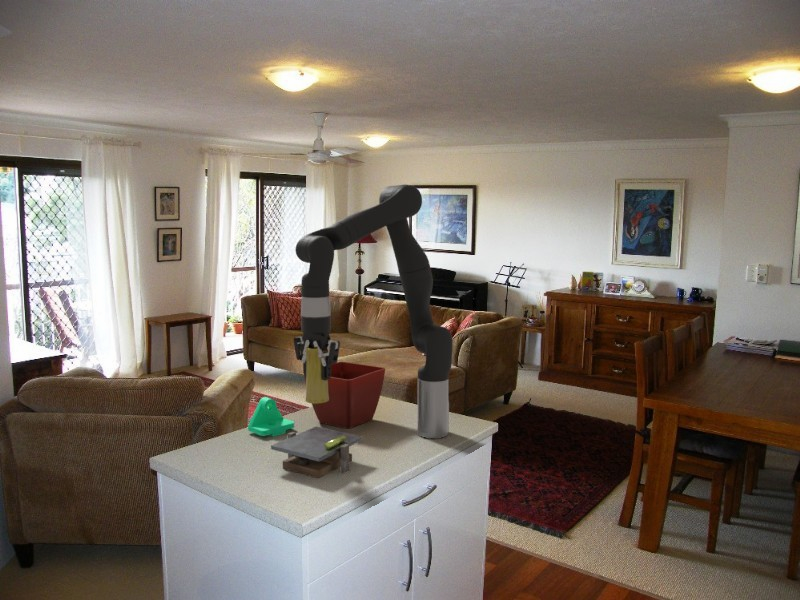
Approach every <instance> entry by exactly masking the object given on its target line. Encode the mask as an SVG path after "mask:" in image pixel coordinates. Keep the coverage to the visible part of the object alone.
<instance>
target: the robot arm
mask: <svg viewBox="0 0 800 600" xmlns="http://www.w3.org/2000/svg"><path fill="white" fill-rule="evenodd" d="M378 200H379V201H378V202H379V203H378V204H376V205H374V206H372V207H369V208H366V209H363V210H360V211H357V212H354V213H352V214H349V215H347V216H345V217H344V218H341V219H339V220H338V221H336V222H334V223H332V224H331V225H329V226H327V227H324V228H320V229H318V230H314V231H312V232H310V233H308V234H306V235H304V236H302V237H301V238H299V240H298V241H297V242H296V245H295V255H296V256H297V258H298V259H299V260H300V261H302V262H304V263H308V264H309V268H308V273H305V274H303V275H302V277H301V301H300V303H301V304H300V323H301V324H300V325H301V326H300V328H301V332H302V336H301V335H299V336H295V337H293V339H292V340H293V344H294V345H293V347H294V352H295V357H296V360H298V361H301V363H302V373H303V376H305V377H306V347H307V348H312V349H318V357H319V358H321V362H322V365H323V366H322V379H323V380H329V379H330V377H331V365H332V364H334V363H337V362H339V361H338V359H339V353H340V348H341V347H340V346H341V342H340V341H339V340H336V341H335V340H332V339H331V336H330V333H331V330H332V329H331V327H332V325H331V324H332V322H331V320H332V319H331V318H332V317H331V316H332V315H331V313H332V312H331V298H330V278H331V274H332V269H333V264H334V260H335V251H338V250H340V251H341V250H343V249H346V248H348V247H350V246H352V245H354V244H355V243H357V242H359V241H360V240H363V238H366V237H368V236H369V235H371V234H373V233H374V232H376V231H378V230H381V229H382V228H385V227H386V230H387V233H388V237H389V238H390V243H391V245H392V249H393V254H394V257H395V261H396V266H397V271H398V275H399V279H400V282H401V283H400V284H401V286H402V290H403V294H404V297H405V298H404V299H405V303H406V307H407V310H408V316H409V317H408V318H409V324H410V332H411V339H412V343H413V345H414V348H415V349H416V350H417V351H418V352H419V353H421V354H424V355H425V362H424V363H425V364H424V366H421V367H419V368H418V369H417V421H416V422H417V423H416V424H417V430H416V432H417V433H416V434H417V435H418V436H419V437H421V436H422V437H421V438H424V437H426V439H431V438H435V439H441V437H443V438H445V437H444V436H446V437H447V436H448V434H449V430H450V402H449V381H450V380H449V375H450V371H451V369H452V362H453V345H454V344H453V343H454V342H453V335H452V334H451V331H450V330H449V329H448V328H446V327H445V326H441V325H437V324H435V322H434V319H433V316H432V311H431V307H430V306H431V305H430V304H431V303H430V302H431V296H432V291H433V286H434V278H433V273H432V269H431V265H430V261H429V259H428V256H427V254H426V252H425V251H424V249H423V248H422V246H421V245H420V243H419V242H418V241H417V239H416V238H415V237H414V235H413V233H412V230H411V228H410V225H409V221H408V218H411V217H413V216H415V215H417V214H418V213H419V211H420V210H421V209H422V205H423V197H422V193H421V192H420V190H419V189H418V188H417V187H416V186H414V185H412V184H397V185H390V186H386V187H384V188H383V189H382V190H381V192H380V194H379V199H378ZM322 351H326V353H325V354H323V353H322ZM325 357H326V359H325ZM305 377H304V378H305Z"/></svg>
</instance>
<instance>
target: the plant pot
mask: <svg viewBox="0 0 800 600" xmlns="http://www.w3.org/2000/svg"><path fill="white" fill-rule="evenodd" d="M385 373H386V368H385V367H383V366H374V365H368V364H362V363H355V362H348V361H337V363H334V364H332V365H331V377H330V379H329V380H328V394H329V400H328V401H327V402H325V403H318V404H315V403H311V406H312V409H313V411H314V413H315V417H316V418H317V420H318V422H319V423H320V424H325V425H330V426H334V427H338V428H344V429H352V428H354V427H356V426H359V425H361V424H364V423H367V422H368V421H372V420H373V418H374V415H375V413H376V410H377V408H378V404H379V400H380V397H381V394H382V390H383V384H384V379H385ZM303 376H304V375H303ZM304 382H305V383H306V377H305V376H304Z"/></svg>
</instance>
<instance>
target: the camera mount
mask: <svg viewBox="0 0 800 600" xmlns="http://www.w3.org/2000/svg"><path fill="white" fill-rule="evenodd" d="M281 413H282V412H281V411H280V410H279V409H278V407H277V401H276V400H275V399H273V398H270V397H267V396H263V397H262V398H260V400H259V402H257V405H256V408H255V410H254V411H253V414H252V416H251V418H250V420H249V422H248V425H247V430H248V432H250V433H253V434H255V435H258V436H261V437H266V436H270V437H277V436H279V435H283V434H286V433H287V430H291V429H294V428H295V422H294V421H293V420H290V419H287V418H284V416H283V415H282V414H281Z"/></svg>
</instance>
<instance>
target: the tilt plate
mask: <svg viewBox="0 0 800 600" xmlns="http://www.w3.org/2000/svg"><path fill="white" fill-rule="evenodd" d="M361 441H363V436H362V435H357V434H353V433H349V432H344V431H343V432H342V431H338V430H334V429H330V428H325V427H320V426H314V427H312V428H310V429H307V430H305V431H302V432H299V433H296V435H295V436H292V437H290V438H288V437H287V438H285V439H284V440H280V441H279V442H276V443H274V444H272V445H270V450H273V451H276V452H281V453H285V454H287V455H288V454H291V455H295V456H299V457H303V458H307V459H311V460H315V461H321V460H324V459H326V458H328V457H330V456H332V455H334V454H336V453H338V452H340V451H341V446H342V445H344V444H348V445H349V448H350V447H352V446H353V445H355V444H358V443H359V442H361Z"/></svg>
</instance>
